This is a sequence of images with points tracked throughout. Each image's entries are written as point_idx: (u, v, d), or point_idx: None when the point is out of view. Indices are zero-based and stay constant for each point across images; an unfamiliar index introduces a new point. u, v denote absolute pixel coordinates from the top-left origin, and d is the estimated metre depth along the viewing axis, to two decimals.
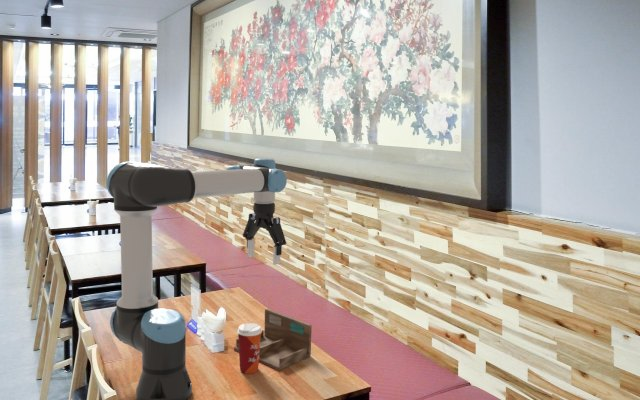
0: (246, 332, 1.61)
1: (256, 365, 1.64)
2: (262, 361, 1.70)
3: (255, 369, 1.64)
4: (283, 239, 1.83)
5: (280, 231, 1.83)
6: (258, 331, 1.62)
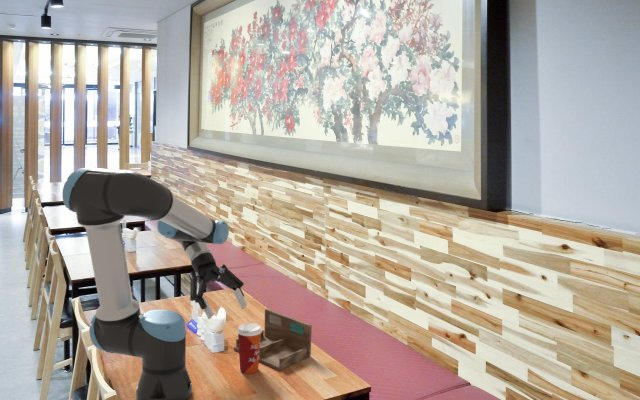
0: (246, 332, 1.61)
1: (256, 365, 1.64)
2: (262, 361, 1.70)
3: (255, 369, 1.64)
4: None
5: None
6: (258, 331, 1.62)
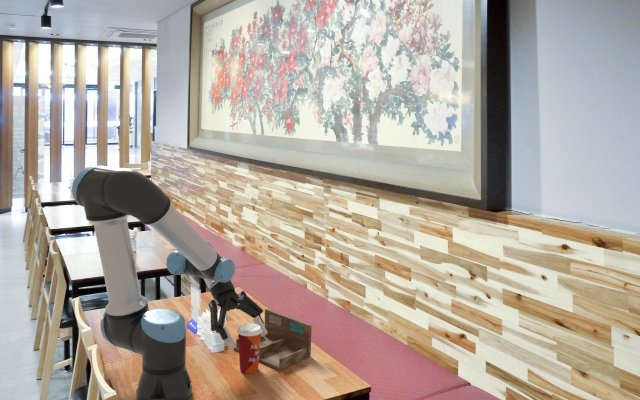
0: (246, 332, 1.61)
1: (256, 365, 1.64)
2: (262, 361, 1.70)
3: (255, 369, 1.64)
4: None
5: None
6: (258, 331, 1.62)
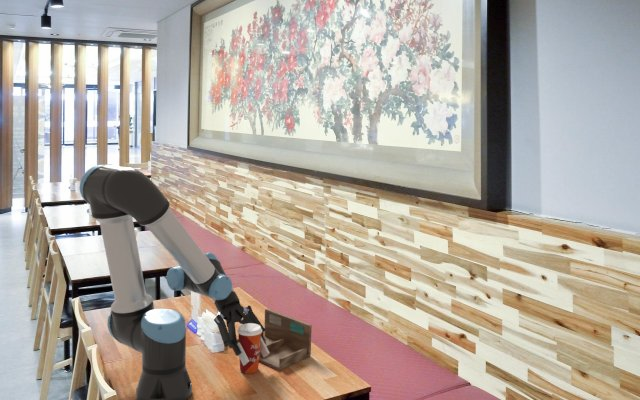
0: (246, 332, 1.61)
1: (256, 365, 1.64)
2: (262, 361, 1.70)
3: (255, 369, 1.64)
4: None
5: None
6: (258, 331, 1.62)
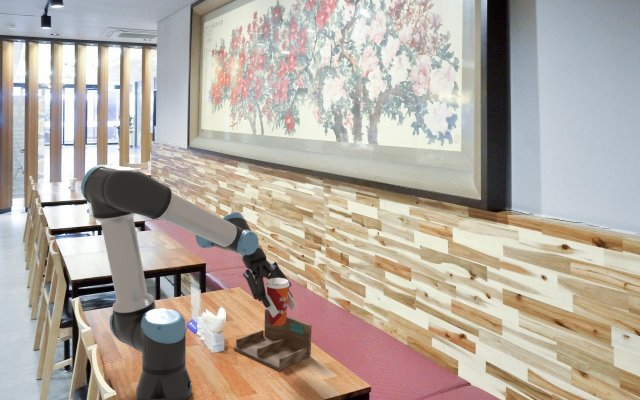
0: (275, 285, 1.66)
1: (284, 317, 1.70)
2: (262, 361, 1.70)
3: (283, 321, 1.69)
4: None
5: None
6: (286, 284, 1.68)
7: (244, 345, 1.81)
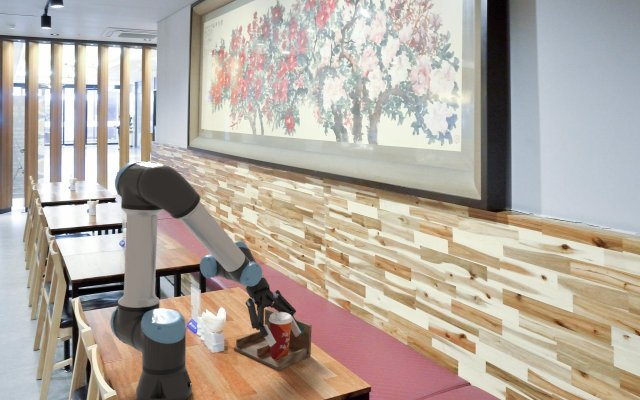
0: (278, 320, 1.68)
1: (286, 352, 1.72)
2: (262, 361, 1.70)
3: (285, 355, 1.72)
4: None
5: None
6: (289, 319, 1.70)
7: (244, 345, 1.81)
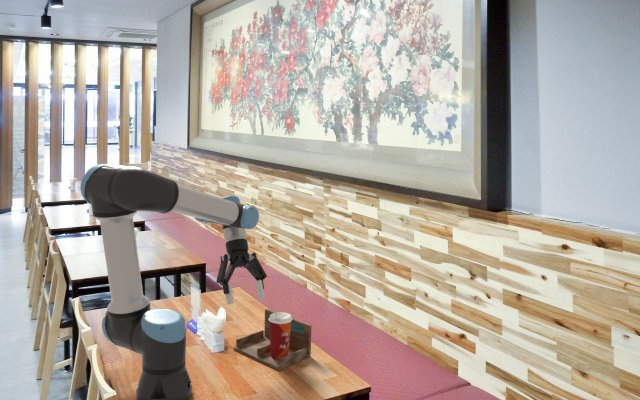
0: (278, 320, 1.69)
1: (286, 352, 1.72)
2: (262, 361, 1.70)
3: (285, 355, 1.72)
4: None
5: None
6: (289, 319, 1.70)
7: (244, 345, 1.81)
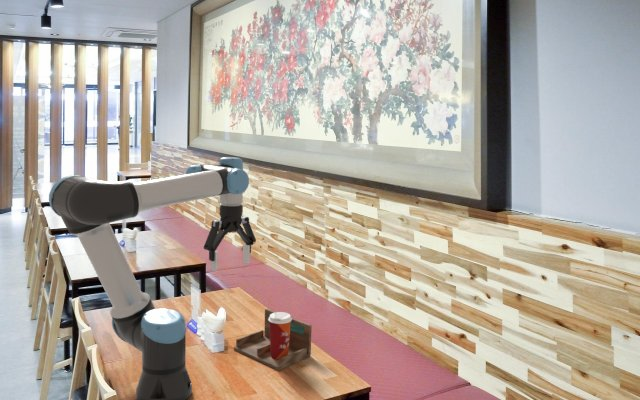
0: (277, 320, 1.69)
1: (286, 351, 1.72)
2: (262, 361, 1.70)
3: (285, 355, 1.72)
4: None
5: None
6: (288, 319, 1.70)
7: (244, 345, 1.81)
